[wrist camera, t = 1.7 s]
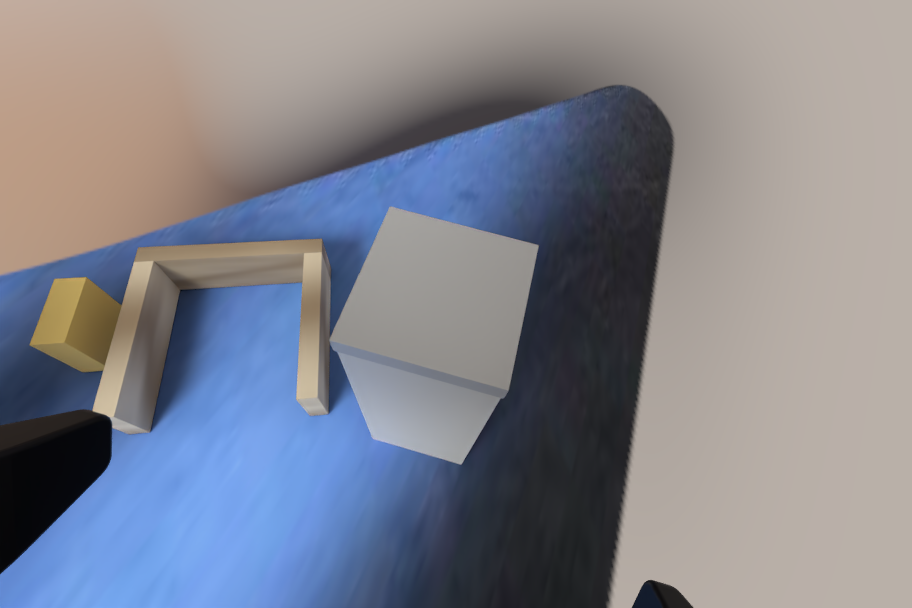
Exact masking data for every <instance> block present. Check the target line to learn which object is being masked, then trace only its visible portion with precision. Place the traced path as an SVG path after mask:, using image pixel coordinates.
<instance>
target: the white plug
mask: <svg viewBox="0 0 912 608" xmlns="http://www.w3.org/2000/svg"><path fill="white" fill-rule="evenodd" d="M538 247H539V245H536V244H532V243H528V242H524V241H520V240H517V239H513V238H509V237H505V236H501V235H497V234H494V233H490V232H486V231H482V230H478V229H474V228H471V227H467V226H463V225H459V224H455V223H451V222H448V221H444V220H440V219H436V218H432V217H428V216H425V215H421V214H417V213H413V212H409V211H405V210H402V209H398V208H394V207H390V208H389V210H388V212H387V214H386V216H385V218H384V221H383V223H382V225H381V227H380V229H379V232H378V234H377V236H376V238H375V240H374V243H373V245H372V247H371V249H370V251H369V254H368V256H367V258H366V260H365V262H364V264H363V267H362V269H361V271H360V273H359V275H358V278H357V280H356V282H355V284H354V286H353V289H352V291H351V293H350V295H349V297H348V300H347V302H346V304H345V306H344V308H343V310H342V313H341V315H340V317H339V319H338V321H337V324H336V326H335V328H334V330H333V332H332V335H331V337H330V339H329V341H330V344H331V346H332V349H333V351H336V352H338V355H339V357H340V360H341V362H342V365H343V367H344V369H345V372H346V374H347V377H348V379H349V382H350V384H351V387H352V389H353V391H354V394H355V396H356V399H357V401H358V404H359V406H360V409H361V411H362V414H363V416H364V418H365V421H366V423H367V426H368V428H369V431H370V433H371V436H372V438H373V439H375V440H379V441H382V442H385V443H389V444H392V445H396V446H399V447H403V448H406V449H409V450H413V451H416V452H420V453H423V454H426V455H430V456H433V457H437V458H440V459H444V460H447V461H450V462H454V463H457V464H462V463H463V461H464V459H465V458H466V456H467V454H468V453H469V451H470V449H471V448H472V446H473V444H474V443H475V441H476V439H477V437H478V436H479V434H480V432H481V431H482V429H483V427H484V426H485V424H486V422H487V421H488V419H489V417H490V415H491V414H492V412H493V410H494V409H495V407H496V405H497V404H498V402H499V400H500V399H501V398H503V399H504V397H505V396H506V394H507V392H508V391H509V386H510V382H511V377H512V372H513V367H514V362H515V357H516V353H517V348H518V343H519V338H520V333H521V329H522V324H523V319H524V314H525V309H526V304H527V300H528V295H529V290H530V285H531V280H532V276H533V271H534V266H535V261H536V256H537V251H538Z"/></svg>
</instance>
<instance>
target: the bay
mask: <svg viewBox="0 0 912 608" xmlns="http://www.w3.org/2000/svg"><path fill="white" fill-rule="evenodd" d="M301 282H302V301H301V320H300V339H299V358H298V377H297V396H296V400H297V401H298V402H299V403H300V405H301V406H302V407H303V408H304V409H305V411H306V412H307V413H308V414H309V415H310V416H316V415H325V414H329V362H330V341H329V339H330V299H331V266H330V263H329V260H328V256H327V253H326V250H325V247H324V243H323V240H322V239H306V240H285V241H264V242H243V243H222V244H201V245H180V246H159V247H138V250H137V253H136V257H135V260H134V264H133V267H132V271H131V274H130V278H129V282H128V285H127V289H126V292H125V296H124V299H123V303H122V306H121V310H120V314H119V317H118V321H117V324H116V328H115V331H114V335H113V338H112V342H111V346H110V349H109V353H108V356H107V360H106V363H105V367H104V370H103V374H102V378H101V381H100V385H99V388H98V392H97V395H96V399H95V402H94V406H93V410H92V411H94V412H98V413H101V414H104V415H107V416H108V417H110V419H111V421H112V428H114V429H117V430H119V431H122V432H124V433H127V434H138V433H148V432H150V430H151V426H152V421H153V416H154V411H155V407H156V402H157V397H158V393H159V388H160V383H161V378H162V374H163V369H164V364H165V359H166V355H167V350H168V345H169V340H170V336H171V331H172V326H173V322H174V317H175V312H176V307H177V303H178V298H179V293H180V290H185V289H202V288H218V287H235V286H251V285H268V284H284V283H301Z"/></svg>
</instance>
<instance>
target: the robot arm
mask: <svg viewBox="0 0 912 608" xmlns="http://www.w3.org/2000/svg"><path fill="white" fill-rule="evenodd" d="M111 456H112V421H111V419H110V417H108V416H107V415H104V414H101V413H98V412H94V411H91V410H76V411H71V412H66V413H61V414H56V415H51V416H46V417H41V418H36V419H31V420H25V421H20V422H15V423H10V424H5V425H0V574H1V573H2V572H3V571H4V570H5V569H7V568H8V567H9V566H10V565H11V564H12V563H13V562H14V561H15V560H17V559H18V558H19V557H20V556H21V555H22V554H23V553H24V552H25V551H26V550H27V549H28V548H29V547H30V546H31V545H32V544H33V543H34V542H35V541H36V540H37V539H38V538H39V537H40V536H41V535H42V534H43V533H44V532H45V531H46V530H47V529H48V528H49V527H50V526H51V525H52V524H53V523H54V522H55V521H56V520H57V519H58V518H59V517H60V516H61V515H62V514H63V513H64V512H65V511H66V510H67V509H68V508H69V507H70V506H71V505H72V504H73V503H74V502H75V501H76V500H77V499H78V498H79V497H80V496H81V495H82V494H83V493H84V492H85V491H86V490H87V489H88V488H89V487H90V486H91V485H92V484H93V483H94V482H95V481H96V480H97V479H98V478H99V477H100V476H101V475H102V474H103V472H104V471H105V470H106V468H107V467H108V465H109V463H110V460H111ZM632 608H693V607H692V606H691V605H690V603H689V602H688V601H687V600H686V599H685V598H684V596H683V595H682V594H681V593H680V592H679V591H678V590H677V589H676V588H674V587H672V586H670V585H666V584H663V583H660V582H657V581H653V580H648V581H646V582H645V583H644V584H643V586H642V588H641V590H640V592H639V594H638V596H637V598H636V600H635V602H634V605H633V606H632Z"/></svg>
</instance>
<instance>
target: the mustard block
mask: <svg viewBox="0 0 912 608" xmlns="http://www.w3.org/2000/svg"><path fill="white" fill-rule="evenodd" d="M121 306H122V305H120V304H119V303H118V302H117V301H115V300H114V299H113V298H112V297H110V296H109V295H108V294H107V293H105V292H104V291H103V290H102V289H100V288H99V287H98V286H97V285H96V284H94V283H93V282H92V281H91V280H89V279H88V278H87V277H81V278H63V279H54V282H53V284H52V287H51V290H50V292H49V295H48V298H47V300H46V303H45V305H44V308H43V311H42V313H41V316H40V319H39V321H38V324H37V327H36V329H35V332H34V334H33V337H32V340H31V342H30V346H32V347H34V348H36V349H38V350H40V351H42V352H44V353H46V354H48V355H50V356H51V357H53V358H55V359H57V360H59V361H61V362H63V363H65V364H67V365H69V366H71V367H73V368H75V369H77V370H79V371H81V372H94V371H103V370H104V367H105V363H106V360H107V356H108V353H109V349H110V346H111V342H112V338H113V335H114V331H115V328H116V324H117V321H118V317H119V314H120V310H121Z"/></svg>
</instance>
